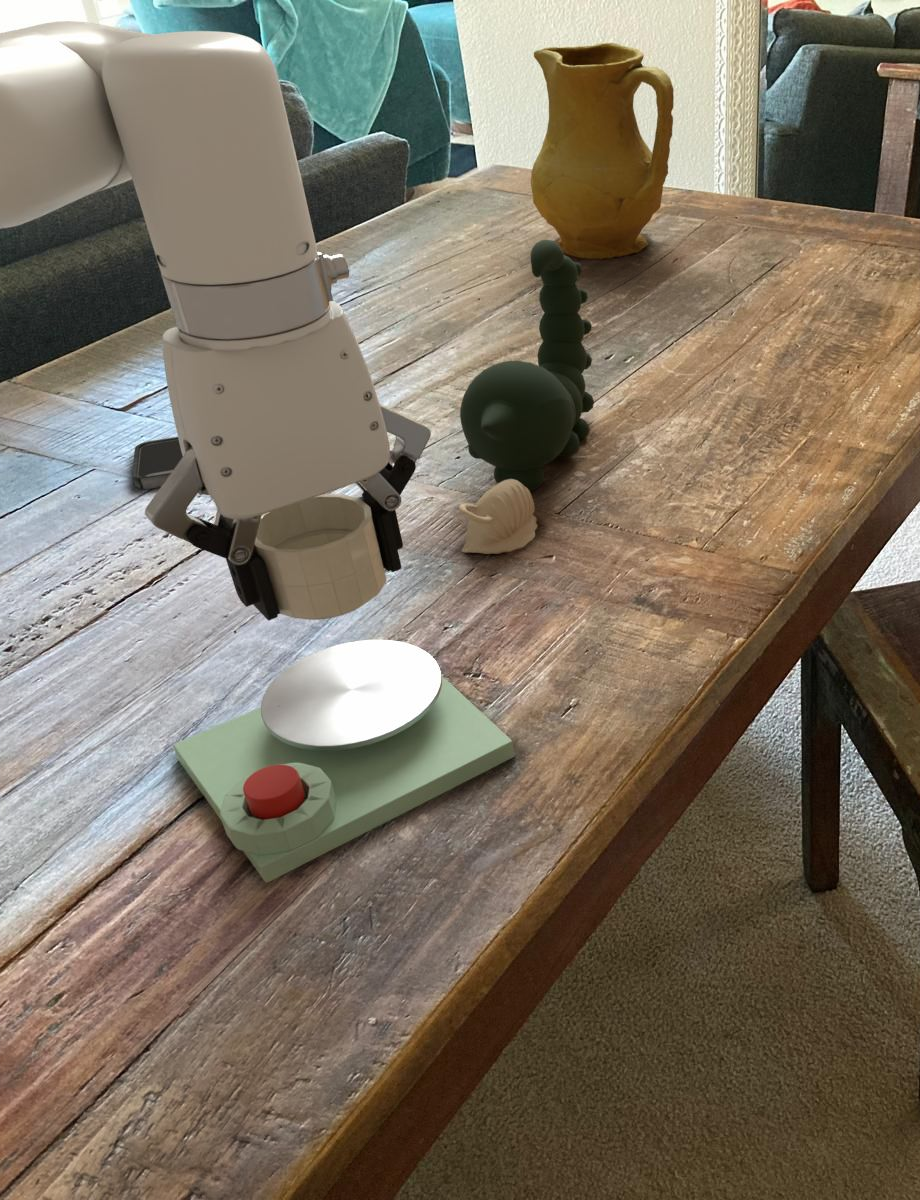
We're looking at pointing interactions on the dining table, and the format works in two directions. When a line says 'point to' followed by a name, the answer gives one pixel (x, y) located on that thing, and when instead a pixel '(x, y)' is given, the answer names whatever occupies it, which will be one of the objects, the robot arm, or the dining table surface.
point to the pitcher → (600, 149)
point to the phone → (155, 462)
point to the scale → (338, 778)
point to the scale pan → (351, 695)
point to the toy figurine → (535, 384)
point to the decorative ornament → (500, 519)
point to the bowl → (321, 556)
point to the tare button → (274, 791)
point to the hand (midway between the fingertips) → (326, 583)
